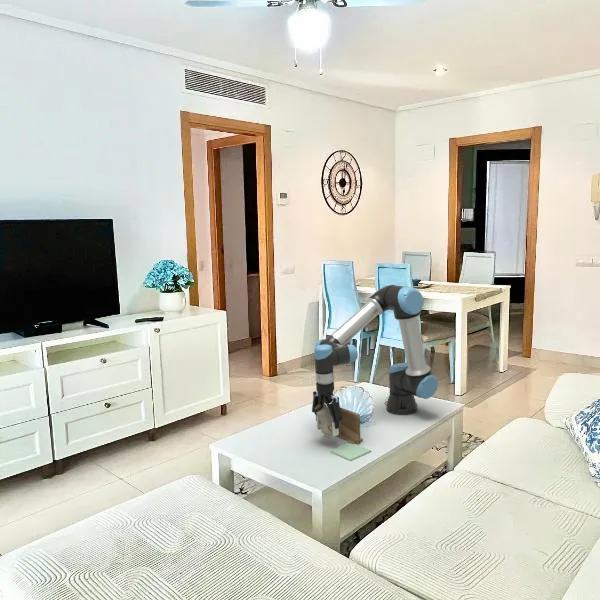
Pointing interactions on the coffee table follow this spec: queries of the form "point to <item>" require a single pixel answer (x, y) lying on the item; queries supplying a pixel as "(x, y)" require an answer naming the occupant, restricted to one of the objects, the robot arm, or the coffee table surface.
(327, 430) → the figurine
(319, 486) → the coffee table surface
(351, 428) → the screen
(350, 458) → the pad
